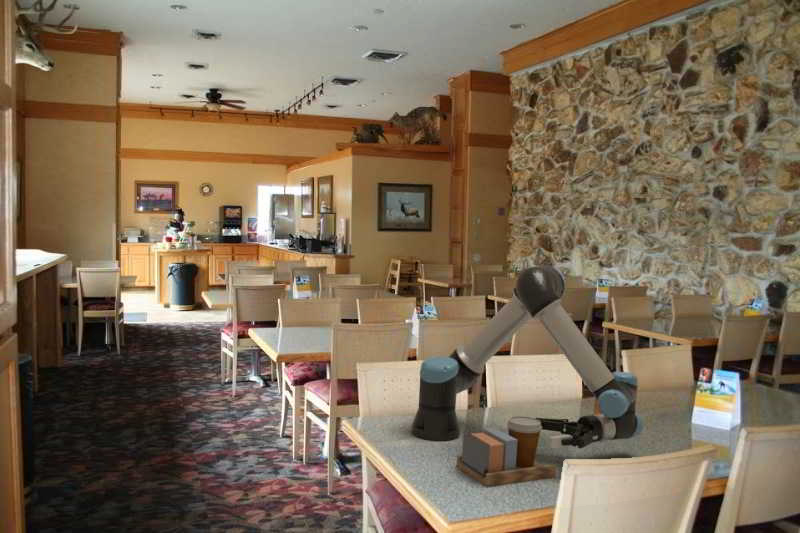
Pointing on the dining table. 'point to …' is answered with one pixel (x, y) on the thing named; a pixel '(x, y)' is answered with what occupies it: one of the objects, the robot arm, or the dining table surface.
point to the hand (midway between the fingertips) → (534, 434)
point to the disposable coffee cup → (525, 438)
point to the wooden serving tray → (512, 474)
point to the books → (499, 449)
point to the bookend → (475, 454)
